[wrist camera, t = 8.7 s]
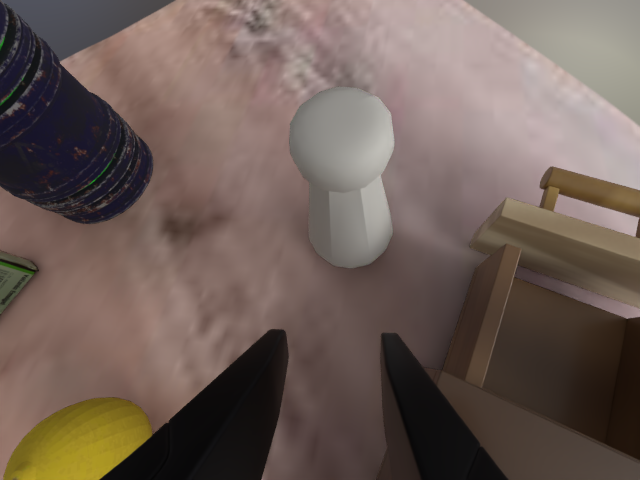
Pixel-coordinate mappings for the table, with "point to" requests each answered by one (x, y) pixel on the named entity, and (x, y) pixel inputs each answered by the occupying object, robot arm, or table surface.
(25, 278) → the medication box
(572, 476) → the cabinet
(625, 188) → the drawer
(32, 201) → the storage jar
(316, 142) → the white bowling pin
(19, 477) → the lemon
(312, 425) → the table surface
